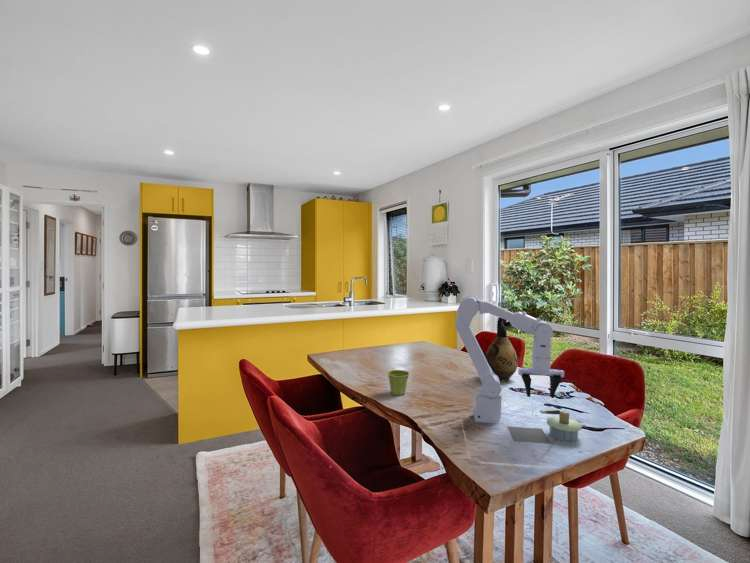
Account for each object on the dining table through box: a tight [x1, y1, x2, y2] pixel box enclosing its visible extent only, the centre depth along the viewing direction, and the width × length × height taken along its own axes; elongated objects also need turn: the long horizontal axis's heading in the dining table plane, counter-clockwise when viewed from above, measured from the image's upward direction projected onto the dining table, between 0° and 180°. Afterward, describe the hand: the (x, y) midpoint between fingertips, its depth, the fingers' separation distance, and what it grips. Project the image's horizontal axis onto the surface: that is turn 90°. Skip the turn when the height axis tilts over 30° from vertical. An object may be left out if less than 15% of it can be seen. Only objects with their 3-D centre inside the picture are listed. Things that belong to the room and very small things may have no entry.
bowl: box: [548, 426, 579, 442], centre depth 128 cm, size 8×8×4 cm
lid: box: [546, 410, 583, 432], centre depth 128 cm, size 10×10×4 cm
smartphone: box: [540, 408, 586, 427], centre depth 145 cm, size 7×16×1 cm, turn 13°
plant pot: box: [386, 369, 411, 396], centre depth 170 cm, size 9×9×9 cm
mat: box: [506, 426, 552, 444], centre depth 129 cm, size 11×11×1 cm
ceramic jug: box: [484, 317, 519, 382], centre depth 194 cm, size 17×15×30 cm
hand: (540, 396), depth 137 cm, fingers open, 7 cm apart
